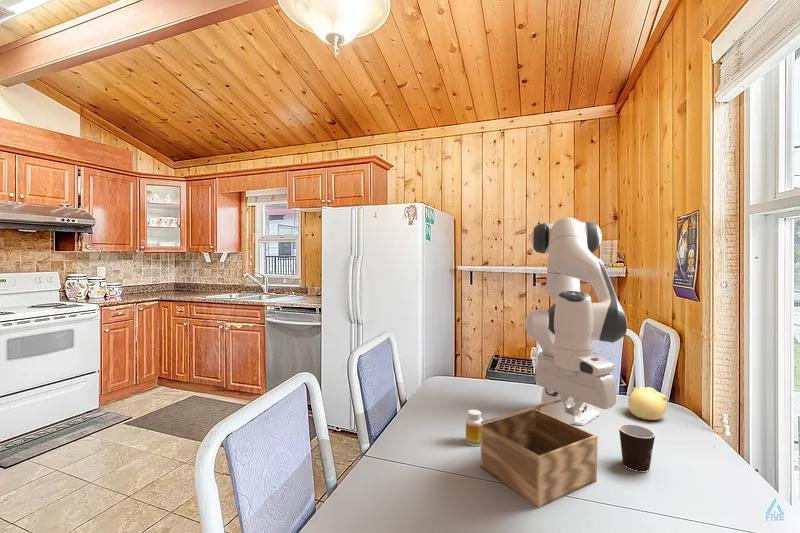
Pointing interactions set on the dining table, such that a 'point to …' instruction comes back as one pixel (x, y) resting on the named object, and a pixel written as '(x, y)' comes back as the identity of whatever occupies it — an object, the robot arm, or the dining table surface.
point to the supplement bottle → (473, 428)
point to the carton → (539, 455)
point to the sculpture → (647, 403)
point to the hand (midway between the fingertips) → (571, 413)
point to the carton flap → (522, 411)
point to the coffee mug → (636, 446)
